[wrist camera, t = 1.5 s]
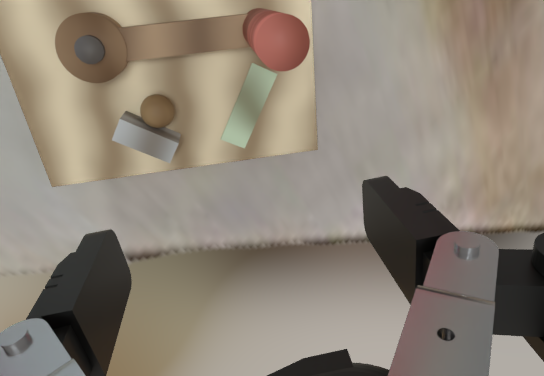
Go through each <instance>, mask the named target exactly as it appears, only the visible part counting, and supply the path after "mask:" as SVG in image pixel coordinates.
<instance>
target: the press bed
mask: <svg viewBox="0 0 544 376" xmlns="http://www.w3.org/2000/svg"><path fill="white" fill-rule="evenodd" d="M256 8H263V9H267V10H272V11H277V12H281V13H286V14H290V15H293V16H295V17H297V18H298V19H300V20H301V21H302V22H303V23H304V25H305V26H306V28H307V30H308V33H309V38H310V46H309V51H308V53H307V56H306V58H305V59H304V61H303V62H302V63H301V64H300V65H299V66H297V67H296V68H294V69H292V70H289V71H282V72H281V71H275V70H272V69H270V68H269V67H267V66H266V65H265V64H264V63H263V62H262V61H261V59H260V58H259V57H258V56H257V54H256V53H255V52H254V51H253V49H252V48H251V47H247V48H238V49H230V50H221V51H213V52H204V53H196V54H187V55H178V56H170V57H161V58H153V59H144V60H136V61H129V62H128V64H127V66H126V68H125V69H124V70H123V71H122V72H121V73H120V74H118V75H117V76H116V77H115V78H113V79H112V80H110V81H107V82H103V83H90V82H86V81H83V80H80V79H78V78H77V77H75V76H73V75H72V74H71V73H70V72H69V71H67V70H66V68H65V67H64V66H63V65H62V63H61V62H60V60H59V58H58V55H57V53H56V49H55V35H56V32H57V29H58V27H59V26H60V24H61V23H62V22H63V21H64V20H65V19H66V18H68V17H69V16H71V15H74V14H78V13H85V12H98V13H102V14H105V15H107V16H109V17H111V18H112V19H114V20H115V21H116V22H118V23H119V24H120V26H121V27H128V26H137V25H146V24H155V23H164V22H173V21H182V20H192V19H201V18H210V17H219V16H228V15H237V14H246V13H248V12H249V11H250V10H252V9H256ZM0 54H1V57H2V59H3V62H4V65H5V67H6V70H7V72H8V75H9V77H10V80H11V83H12V85H13V88H14V90H15V93H16V95H17V98H18V101H19V103H20V106H21V108H22V111H23V113H24V116H25V119H26V121H27V124H28V126H29V129H30V131H31V134H32V137H33V139H34V142H35V144H36V147H37V149H38V152H39V154H40V157H41V160H42V162H43V165H44V167H45V170H46V172H47V175H48V178H49V180H50V183H51V185H52V187H55V186H62V185H70V184H77V183H84V182H91V181H98V180H105V179H112V178H119V177H126V176H134V175H141V174H148V173H155V172H162V171H169V170H176V169H183V168H191V167H198V166H205V165H212V164H219V163H226V162H233V161H240V160H248V159H255V158H262V157H269V156H276V155H283V154H290V153H297V152H305V151H312V150H318V147H317V125H316V102H315V80H314V57H313V34H312V12H311V0H0Z"/></svg>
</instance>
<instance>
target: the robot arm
mask: <svg viewBox="0 0 544 376" xmlns="http://www.w3.org/2000/svg"><path fill="white" fill-rule="evenodd" d="M362 193H363V213H364V226H365V231H366V234H367V237H368V239H369V241H370V242H371V244H372V245H373V247H374V249H375V250H376V252H377V253H378V255H379V256H380V258H381V259H382V261H383V262H384V264H385V265H386V267H387V269H388V270H389V272H390V273H391V275H392V277H393V278H394V280H395V281H396V283H397V284H398V286H399V287H400V289H401V291H402V292H403V294H404V295H405V297H406V298H407V300H408V301H409V303H410V305H411V306H410V309H409V312H408V315H407V318H406V321H405V324H404V327H403V330H402V333H401V336H400V339H399V343H398V346H397V349H396V352H395V355H394V358H393V361H392V364H391V367H390V370H388V369H385V368H382V367H378V366H374V365H369V364H362V363H352V361H351V359H350V356H349V353H348V351H347V349H344V350H340V351H335V352H331V353H326V354H321V355H317V356H312V357H308V358H303V359H301V360H299V361H297V362H295V363H293V364H291V365H289V366H286V367H284V368H282V369H280V370H278V371H276V372H274V373H272V374H270V375H267V376H489V367H490V356H491V345H492V334H495V335H511V336H523V337H524V338H525V340H526V341H527V342H528V343H529V344H530V346H531V347H532V348H533V349H534V351H535V352H536V353H537V354H538V355H539V357H540V358H541V359H542V360H543V361H544V233H542V234H540V235H539V236H537V238H536V239H535V242H534V247H533V250H514V249H498V247H497V245H496V244H495V243H494V242H493V241H492V240H490V239H489V238H487V237H485V236H483V235H480V234H477V233H473V232H467V231H459V230H458V229H457V228H456V227H455V226H454V225H453V224H452V223H451V222H450V221H449V220H448V219H447V218H446V217H445V216H444V215H442V214H441V213H440V212H439V211H438V210H436V208H435V207H434V206H433V205H432V204H431V203H430V204H429V201H428V200H427V199H426V198H424V197H423V196H422V195H421V194H420V193H418V192H416V191H414V190H411V189H409V188H407V187H405V188H399V187H398V186H397V185H396V184H395V183H394V182H393V181H392V180H391V179H390V178H389V177H388V176H383V177H378V178H373V179H368V180H364V181H363V184H362ZM130 290H131V274H130V270H129V267H128V264H127V262H126V259H125V257H124V254H123V252H122V249H121V247H120V244H119V242H118V239H117V236H116V234H115V233H114V231H113V230H105V231H100V232H95V233H90V234H86V235H85V236H84V237H83V239H82V241H81V243H80V245H79V247H78V249H77V250H76V252H74V253H70V254H69V255H68V256H67V257H66V258H65V259H64V260H63V261H62V262H60V263H59V264H58V265H57V267H56V269H55V271H54V272H53V274H52V276H51V279H49V281H48V283H47V284H46V286H45V289H43V291H42V293H41V295H40V296H39V298H38V300H37V301H36V303H35V305H34V306H33V308H32V310H31V312H30V313H29V315H28V317H27V318H26V320H24V321H21V322H18V323H16V324H14V325H12V326H10V327H8V328H7V329H5V330H4V331H2V332H1V333H0V376H106V374H107V371H108V367H109V364H110V360H111V357H112V353H113V350H114V346H115V342H116V339H117V335H118V332H119V328H120V325H121V322H122V318H123V314H124V311H125V307H126V304H127V300H128V297H129V293H130Z"/></svg>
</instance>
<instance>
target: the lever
mask: <svg viewBox="0 0 544 376" xmlns="http://www.w3.org/2000/svg"><path fill="white" fill-rule="evenodd" d="M309 46H310V38H309V33H308V30H307V28H306V26H305V25H304V23H303V22H302V21H301V20H300V19H298V18H297V17H295V16H293V15H290V14H286V13H281V12H277V11H272V10H267V9H263V8H256V9H252V10H250V11H249V12H248V13H246V14H237V15H228V16H219V17H210V18H201V19H192V20H182V21H173V22H164V23H155V24H146V25H137V26H128V27H121V26H120V24H119V23H118V22H116V21H115V20H114V19H112V18H111V17H109V16H107V15H105V14H102V13H98V12H85V13H78V14H74V15H71V16H69V17H68V18H66V19H65V20H64V21H63V22H62V23H61V24H60V26H59V27H58V29H57V32H56V35H55V49H56V53H57V55H58V58H59V60H60V62H61V63H62V65H63V66H64V67H65V68H66V70H67V71H69V72H70V73H71V74H72V75H73V76H75V77H77V78H78V79H80V80H83V81H86V82H90V83H103V82H107V81H110V80H112V79H113V78H115V77H116V76H117V75H118V74H120V73H121V72H122V71H123V70H124V69H125V68H126V66H127V64H128V62H129V61H136V60H144V59H153V58H161V57H170V56H178V55H187V54H196V53H204V52H213V51H221V50H230V49H238V48H247V47H251V48H252V49H253V51H254V52H255V53H256V54H257V56H258V57H259V58H260V59H261V61H262V62H263V63H264V64H265V65H266V66H267V67H269V68H270V69H272V70H275V71H281V72H282V71H289V70H292V69H294V68H296V67H297V66H299V65H300V64H301V63H302V62H303V61H304V59H305V58H306V56H307V53H308V51H309Z"/></svg>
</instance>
